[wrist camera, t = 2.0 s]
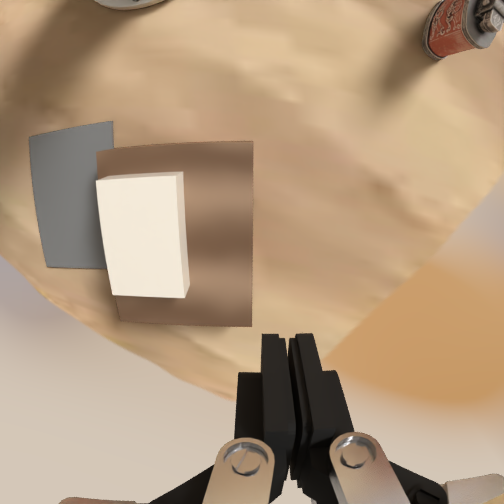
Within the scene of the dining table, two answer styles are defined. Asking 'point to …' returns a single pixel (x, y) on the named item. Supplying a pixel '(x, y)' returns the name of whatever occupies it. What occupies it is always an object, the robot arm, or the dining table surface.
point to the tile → (144, 234)
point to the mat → (69, 194)
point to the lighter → (461, 26)
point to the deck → (200, 230)
